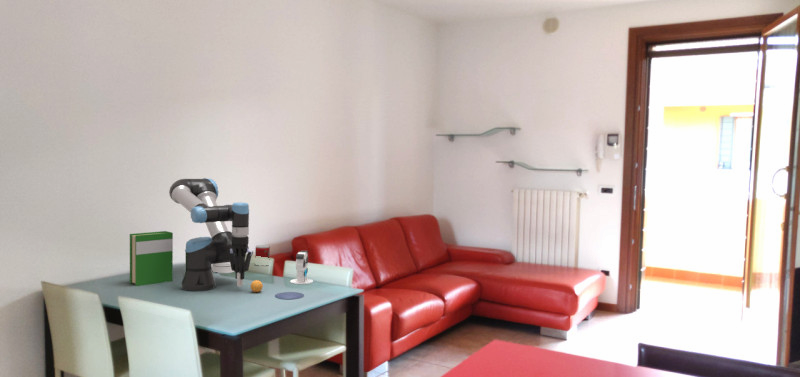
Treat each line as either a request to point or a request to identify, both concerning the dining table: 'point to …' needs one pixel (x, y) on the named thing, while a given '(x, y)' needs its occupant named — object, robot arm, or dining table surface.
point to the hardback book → (151, 258)
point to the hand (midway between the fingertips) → (239, 286)
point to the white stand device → (301, 269)
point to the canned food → (263, 251)
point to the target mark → (289, 295)
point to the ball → (256, 286)
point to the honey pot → (222, 267)
